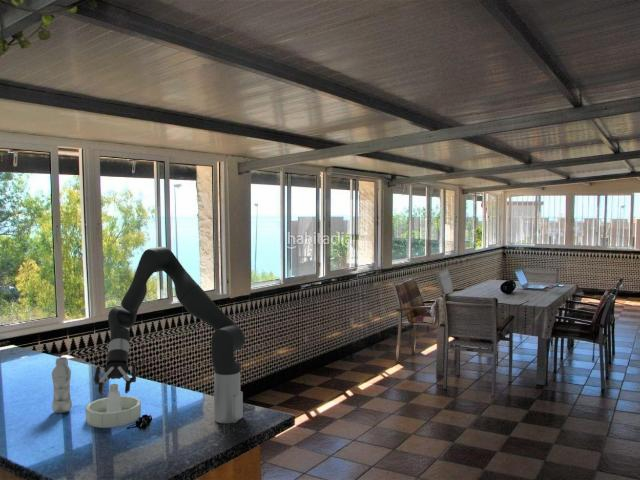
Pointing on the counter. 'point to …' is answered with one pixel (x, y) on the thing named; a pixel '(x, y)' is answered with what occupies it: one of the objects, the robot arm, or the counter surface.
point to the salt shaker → (114, 399)
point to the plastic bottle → (61, 386)
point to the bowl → (113, 413)
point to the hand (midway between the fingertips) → (113, 393)
